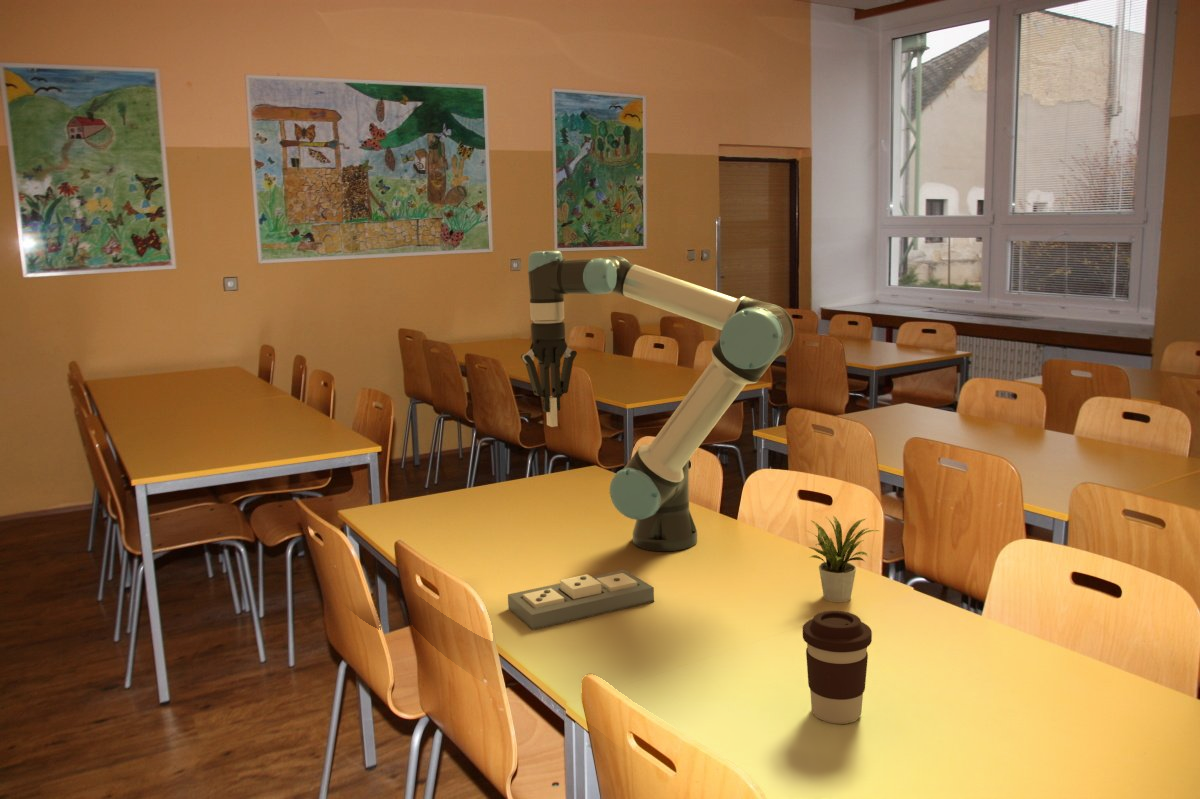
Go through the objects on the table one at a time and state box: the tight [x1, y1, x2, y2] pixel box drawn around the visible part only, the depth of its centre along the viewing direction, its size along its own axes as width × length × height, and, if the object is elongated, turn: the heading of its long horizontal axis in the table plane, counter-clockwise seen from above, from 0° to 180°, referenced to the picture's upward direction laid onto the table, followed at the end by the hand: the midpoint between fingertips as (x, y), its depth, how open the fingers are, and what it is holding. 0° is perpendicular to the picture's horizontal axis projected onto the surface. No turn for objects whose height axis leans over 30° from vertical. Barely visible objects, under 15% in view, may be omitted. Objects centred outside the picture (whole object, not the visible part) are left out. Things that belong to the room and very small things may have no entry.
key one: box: [597, 573, 637, 592], centre depth 194 cm, size 6×6×2 cm
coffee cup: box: [802, 609, 873, 725], centre depth 145 cm, size 10×10×15 cm
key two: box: [559, 574, 601, 599], centre depth 191 cm, size 6×6×2 cm
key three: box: [523, 588, 564, 609], centre depth 187 cm, size 6×6×2 cm
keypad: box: [507, 569, 655, 631], centre depth 191 cm, size 26×12×3 cm, turn 117°
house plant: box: [806, 515, 879, 603], centre depth 189 cm, size 14×14×16 cm
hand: (552, 425), depth 220 cm, fingers closed
